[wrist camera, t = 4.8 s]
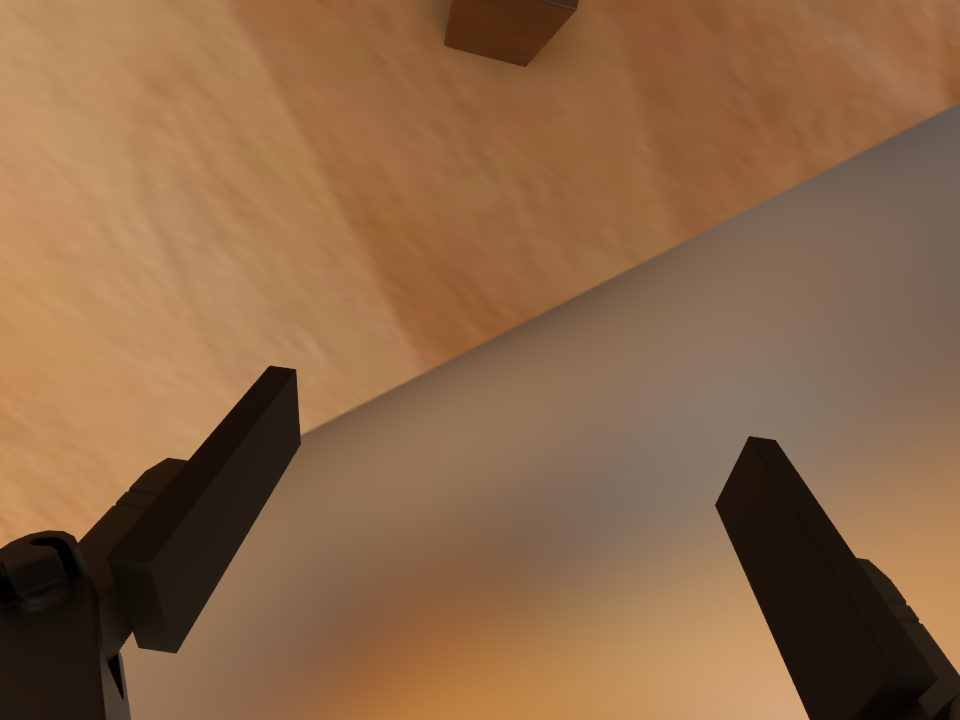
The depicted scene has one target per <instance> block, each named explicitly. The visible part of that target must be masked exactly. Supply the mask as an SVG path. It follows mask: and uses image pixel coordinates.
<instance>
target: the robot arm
mask: <svg viewBox="0 0 960 720" xmlns="http://www.w3.org/2000/svg"><path fill="white" fill-rule="evenodd" d="M300 442H301V441H300V424H299V408H298V392H297V375H296V369H290V368H283V367H276V366H269V367H268V368H267V369H266V370H265V372H264V373H263V374H262V375H261V376H260V377H259V379H258V380H257V381H256V382H255V383H254V384H253V386H252V387H251V388H250V389H249V390H248V391H247V393H246V394H245V395H244V396H243V397H242V398H241V400H240V401H239V402H238V403H237V404H236V405H235V407H234V408H233V409H232V410H231V411H230V412H229V414H228V415H227V416H226V417H225V418H224V419H223V421H222V422H221V423H220V424H219V425H218V426H217V428H216V429H215V430H214V431H213V432H212V433H211V435H210V436H209V437H208V438H207V439H206V440H205V442H204V443H203V444H202V445H201V446H200V447H199V449H198V450H197V451H196V452H195V453H194V454H193V456H192V457H191V458H190V459H189V460H188V461H187V460H180V459H173V458H167V459H165V460H163V461H162V462H160V463H158V464H157V465H155V466H153V467H152V468H150V469H148V470H147V471H145V472H144V473H143V474H142V475H141V476H140V478H139V479H138V480H137V481H136V482H135V483H134V484H133V485H132V486H131V487H130V488H129V491H128V492H125V493H124V495H123V496H122V497H121V498H120V499H119V500H118V501H117V502H116V505H115V506H112V507H111V508H110V509H109V510H108V512H107V513H106V514H105V515H104V516H103V517H102V518H101V519H100V520H99V521H98V522H97V523H96V524H95V525H94V526H93V527H92V529H91V530H90V531H89V532H88V533H87V534H86V535H85V536H84V537H83V538H82V539H81V540H80V541H79V542H78V543H77V541H76V539H75V537H74V536H72V535H70V534H68V533H66V532H64V531H50V530H48V531H43V532H38V533H33V534H29V535H27V536H24V537H22V538H19V539H17V540H15V541H12V542H10V543H9V544H7V545H6V546H4V547H3V548H1V549H0V720H131V717H130V710H129V702H128V695H127V689H126V681H125V675H124V667H123V661H122V656H121V653H120V651H119V650H120V649H121V647H122V646H123V644H124V643H125V641H126V640H127V639H128V637H129V636H130V634H131V633H132V631H133V633H134V636H135V639H136V642H137V645H138V648H142V649H149V650H156V651H163V652H170V653H177V651H178V650H179V648H180V646H181V645H182V643H183V641H184V640H185V638H186V636H187V635H188V633H189V631H190V630H191V628H192V626H193V625H194V623H195V621H196V620H197V618H198V616H199V614H200V613H201V611H202V609H203V608H204V606H205V604H206V603H207V601H208V599H209V598H210V596H211V594H212V592H213V591H214V589H215V587H216V586H217V584H218V582H219V581H220V579H221V577H222V576H223V574H224V572H225V571H226V569H227V567H228V566H229V564H230V562H231V561H232V559H233V557H234V556H235V554H236V552H237V550H238V549H239V547H240V545H241V544H242V542H243V540H244V539H245V537H246V535H247V534H248V532H249V530H250V529H251V527H252V525H253V524H254V522H255V520H256V519H257V517H258V515H259V513H260V512H261V510H262V508H263V507H264V505H265V503H266V502H267V500H268V498H269V497H270V495H271V493H272V492H273V490H274V488H275V487H276V485H277V483H278V481H279V480H280V478H281V477H282V475H283V473H284V471H285V470H286V468H287V466H288V465H289V463H290V461H291V460H292V458H293V456H294V454H295V453H296V451H297V450H298V448H299V446H300V445H301V443H300ZM715 506H716V508H717V511H718V513H719V515H720V517H721V520H722V522H723V524H724V527H725V529H726V531H727V533H728V536H729V538H730V540H731V542H732V545H733V547H734V549H735V552H736V554H737V556H738V558H739V560H740V563H741V565H742V567H743V569H744V572H745V574H746V576H747V579H748V581H749V583H750V585H751V588H752V590H753V592H754V595H755V597H756V599H757V601H758V604H759V606H760V608H761V610H762V613H763V614H764V617H765V619H766V622H767V624H768V626H769V629H770V631H771V633H772V635H773V638H774V640H775V642H776V644H777V647H778V649H779V651H780V653H781V656H782V658H783V660H784V662H785V665H786V667H787V669H788V672H789V674H790V676H791V678H792V680H793V683H794V685H795V687H796V690H797V691H798V694H799V696H800V699H801V701H802V703H803V706H804V708H805V710H806V712H807V715H808V717H809V719H810V720H960V675H959V674H958V673H957V671H956V670H955V668H954V667H953V666H952V664H951V663H950V662H949V660H948V659H947V657H946V656H945V654H944V653H943V652H942V650H941V649H940V648H939V646H938V645H937V643H936V642H935V641H934V639H933V638H932V636H931V635H930V634H929V632H928V631H927V630H926V628H925V627H924V625H923V624H920V623H919V619H918V617H917V616H916V614H915V613H914V612H913V610H912V609H911V607H910V606H908V605H906V600H905V599H904V598H903V596H902V595H901V594H900V592H899V591H898V589H897V588H896V587H895V585H894V584H893V583H892V581H891V580H890V579H889V578H888V577H887V576H886V575H885V574H883V572H881V571H880V570H879V569H878V568H877V567H876V566H875V565H873V564H872V563H871V562H870V561H869V560H867V559H860V558H856V557H855V556H854V554H853V553H852V551H851V550H850V548H849V547H848V545H847V544H846V542H845V541H844V540H843V538H842V537H841V535H840V534H839V532H838V531H837V529H836V528H835V526H834V525H833V524H832V522H831V520H830V519H829V518H828V516H827V515H826V514H825V512H824V510H823V509H822V507H821V506H820V505H819V503H818V501H817V500H816V499H815V497H814V496H813V494H812V493H811V491H810V490H809V488H808V487H807V485H806V484H805V482H804V481H803V480H802V478H801V477H800V475H799V474H798V472H797V471H796V469H795V468H794V466H793V465H792V464H791V462H790V460H789V459H788V458H787V456H786V455H785V453H784V452H783V450H782V449H781V448H780V446H779V444H778V443H777V442H776V440H771V439H764V438H758V437H751V436H749V437H748V439H747V442H746V444H745V446H744V448H743V450H742V452H741V454H740V456H739V458H738V460H737V462H736V464H735V466H734V468H733V470H732V472H731V474H730V476H729V478H728V480H727V482H726V484H725V486H724V488H723V490H722V492H721V494H720V496H719V498H718V500H717V502H716V504H715Z"/></svg>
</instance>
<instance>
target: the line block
mask: <svg viewBox="0 0 960 720" xmlns="http://www.w3.org/2000/svg"><path fill="white" fill-rule="evenodd" d="M578 1H579V0H451V5H450V11H449V18H448V24H447V31H446V37H445V43H444V44H445V46H447V47H451V48H455V49H458V50H462V51H466V52H470V53H474V54H478V55H481V56H485V57H489V58H493V59H497V60H501V61H504V62H508V63H512V64H516V65H520V66H523V67H526V66H527V65H528V63H529V62H530V61H531V60H532V59H533V58H534V57H535V56H536V55H537V53H538V52H539V51H540V50H541V49H542V48H543V47H544V46H545V44H546V43H547V42H548V41H549V40H550V39H551V38H552V37H553V36H554V34H555V33H556V32H557V31H558V30H559V29H560V28H561V27H562V25H563V24H564V23H565V22H566V21H567V20H568V19H569V18H570V17H571V15H572V14H573V13H574V12H575V11H576V9H577V5H578Z"/></svg>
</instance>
